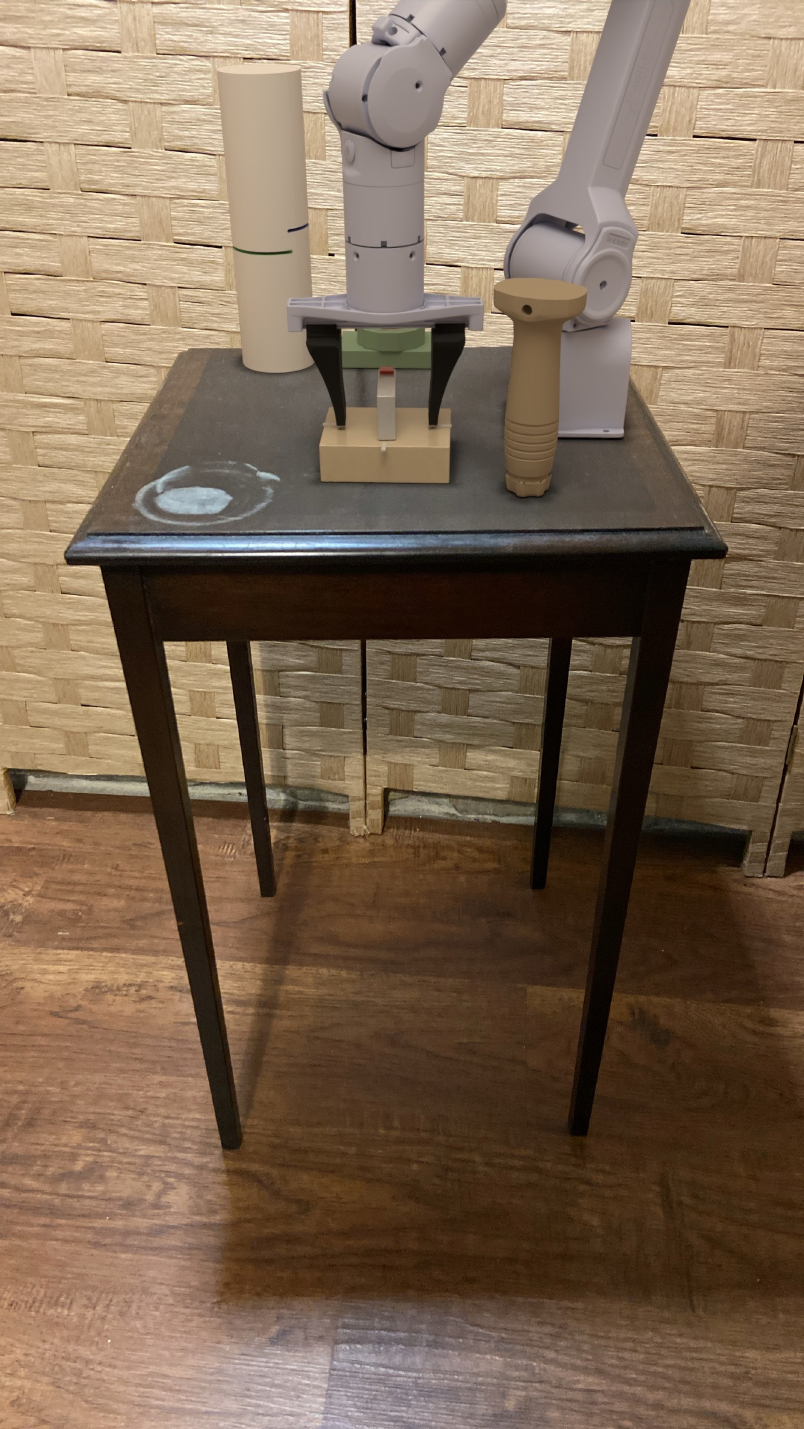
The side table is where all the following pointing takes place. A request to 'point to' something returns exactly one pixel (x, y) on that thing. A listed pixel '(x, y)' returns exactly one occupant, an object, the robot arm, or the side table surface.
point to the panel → (386, 448)
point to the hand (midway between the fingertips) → (387, 420)
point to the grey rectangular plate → (386, 403)
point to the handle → (534, 375)
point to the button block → (386, 348)
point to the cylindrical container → (267, 208)
